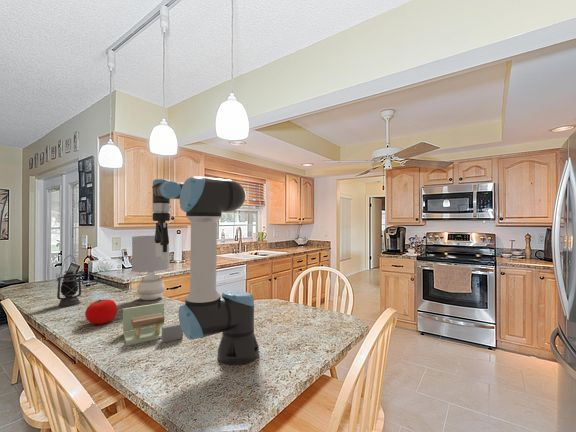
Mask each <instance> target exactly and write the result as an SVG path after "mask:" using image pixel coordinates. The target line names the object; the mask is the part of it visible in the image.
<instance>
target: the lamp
mask: <svg viewBox="0 0 576 432" xmlns="http://www.w3.org/2000/svg"><path fill="white" fill-rule="evenodd" d="M168 237H169V238H170V236H169V235H168ZM154 240H155V234H154V235H134V236H132V238H131V241H132V242H131V244H132V245H131V252H132V253H131V260H132V261H131V262H132V263H131V266H132V267H131V270H132V272H135V273H136V272H137V273H146V274H147V275H145V276H144V277H142V278H141V280H140V282H139V283H138V285H137V288H136V295H137V296H138V298H139V299H141V300H142V301H155V300H158V299H160V298H161V297H162V296H163V295H164V294H165V291H166V290H165V287H166V286H165V283H164V281H163V279H161V278H160V277H159V276H158V275H156V274H155V272H161V271H165V270H168V269H170V243H169V244H168V259H165V260H161V256H159V257H155V241H154Z"/></svg>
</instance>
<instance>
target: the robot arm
mask: <svg viewBox="0 0 576 432" xmlns="http://www.w3.org/2000/svg"><path fill="white" fill-rule="evenodd" d="M151 188H152V210H151V211H152V212H153V213H152V221H153V222H155V231H154V232H155V233H154V235H155V240H154V241H155V257H159V256H161V260H165V259H168V244H169V245H170V236H169V230H168V222H169V221H170V220H171V213H170V212H171V208H172V206H171V200H179V208H180V210H181V211H182V212H184V213H185V218H186V219H188V220H189V222H190V254H189V255H190V256H189V257H190V258H189V259H190V261H189V262H190V267H189V268H190V269H189V275H190V276H189V293H188V294H187V295H186V296H185V298H184V300H185V301H184V304H181V305H180V306H179V308H178V312H177V313H178V320H179V321H178V323H180V326H181V329H182V331H183V336H184V337H186V338H187V339H188V340H198V339H203V338H207V337H210V336H212V335H216V334H217V335H218V334H221V333H222V335H221V339H220V342H219V344H218V349H217V360H218V361H219V362H221V363H223V364H226V365H232V366H233V365H243V364H247V363H251V362H252V361H254V360H257V358H258V357H259V355H260V348H259V343H258V341H257V338H256V335H255V301H254V299H255V298H254V295H252V293H249V292H247V291H240V290H225V291H223V292H222V293H221V294H220V293H219V292H218V291H217V258H218V257H217V253H218V252H217V249H218V247H217V246H218V245H217V244H218V239H217V235H218V222H219V221H220V219H221V218H222V214H223V213H227V212H228V213H229V212H235V211H236V210H238V209H240V208H241V207H242V206H243V205H244V203H245V201H246V191H245V188H244V187H243V186H242V185H241V184H240V183H239V182H237V181H236V180H235V181H234V180H232V179H226V178H225V179H224V178H214V177H207V176H191V177H188V178H186V180H185V181H184V182H177V181H174V180H169V179H164V178H163V179H162V178H161V179H160V178H158V179H156V178H155V179H154V180H152V186H151ZM168 236H169V237H168Z"/></svg>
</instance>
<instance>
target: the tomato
mask: <svg viewBox="0 0 576 432" xmlns="http://www.w3.org/2000/svg"><path fill="white" fill-rule="evenodd" d="M117 314H118V305H117V303H116V302H115V301H114V300H112V299H105V298H104V299H98V300H94V301H92V302H90V304H89V305H88V306H87V307H86V309H85V313H84V315H85V316H84V317H85V319H86V320H87V322H89V323H90V324H93V325H103V324H107V323H109V322H111V321H113V320H114V318H115V317H117Z"/></svg>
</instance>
